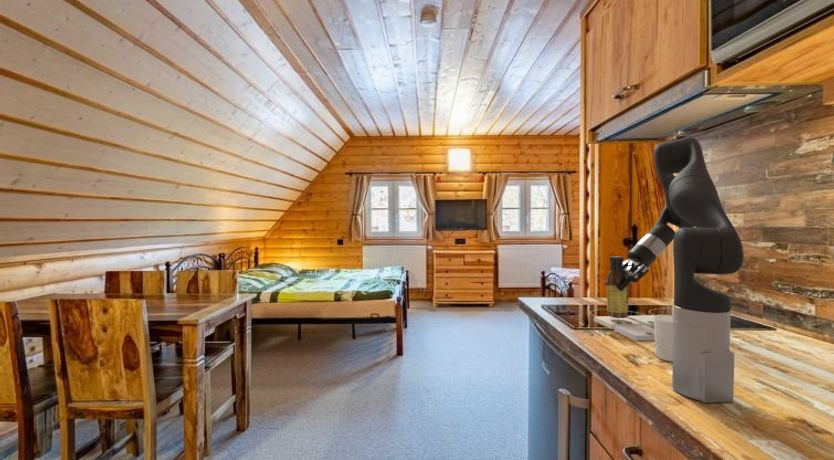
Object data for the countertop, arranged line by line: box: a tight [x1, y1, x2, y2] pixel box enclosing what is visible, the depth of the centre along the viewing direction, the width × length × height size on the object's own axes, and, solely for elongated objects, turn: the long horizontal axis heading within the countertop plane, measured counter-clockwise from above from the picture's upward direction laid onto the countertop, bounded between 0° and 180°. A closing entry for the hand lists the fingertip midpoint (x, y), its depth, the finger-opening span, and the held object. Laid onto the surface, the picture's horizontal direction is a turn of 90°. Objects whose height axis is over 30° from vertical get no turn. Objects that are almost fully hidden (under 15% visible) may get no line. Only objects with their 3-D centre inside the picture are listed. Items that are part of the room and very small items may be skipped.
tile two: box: [593, 315, 641, 330], centre depth 130 cm, size 10×10×2 cm
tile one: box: [614, 325, 655, 342], centre depth 118 cm, size 10×10×2 cm
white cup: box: [653, 314, 674, 363], centre depth 98 cm, size 8×8×10 cm
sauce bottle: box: [606, 255, 629, 318], centre depth 129 cm, size 6×6×20 cm
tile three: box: [626, 314, 656, 329], centre depth 131 cm, size 10×10×2 cm
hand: (612, 287), depth 129 cm, fingers closed on sauce bottle, 6 cm apart
